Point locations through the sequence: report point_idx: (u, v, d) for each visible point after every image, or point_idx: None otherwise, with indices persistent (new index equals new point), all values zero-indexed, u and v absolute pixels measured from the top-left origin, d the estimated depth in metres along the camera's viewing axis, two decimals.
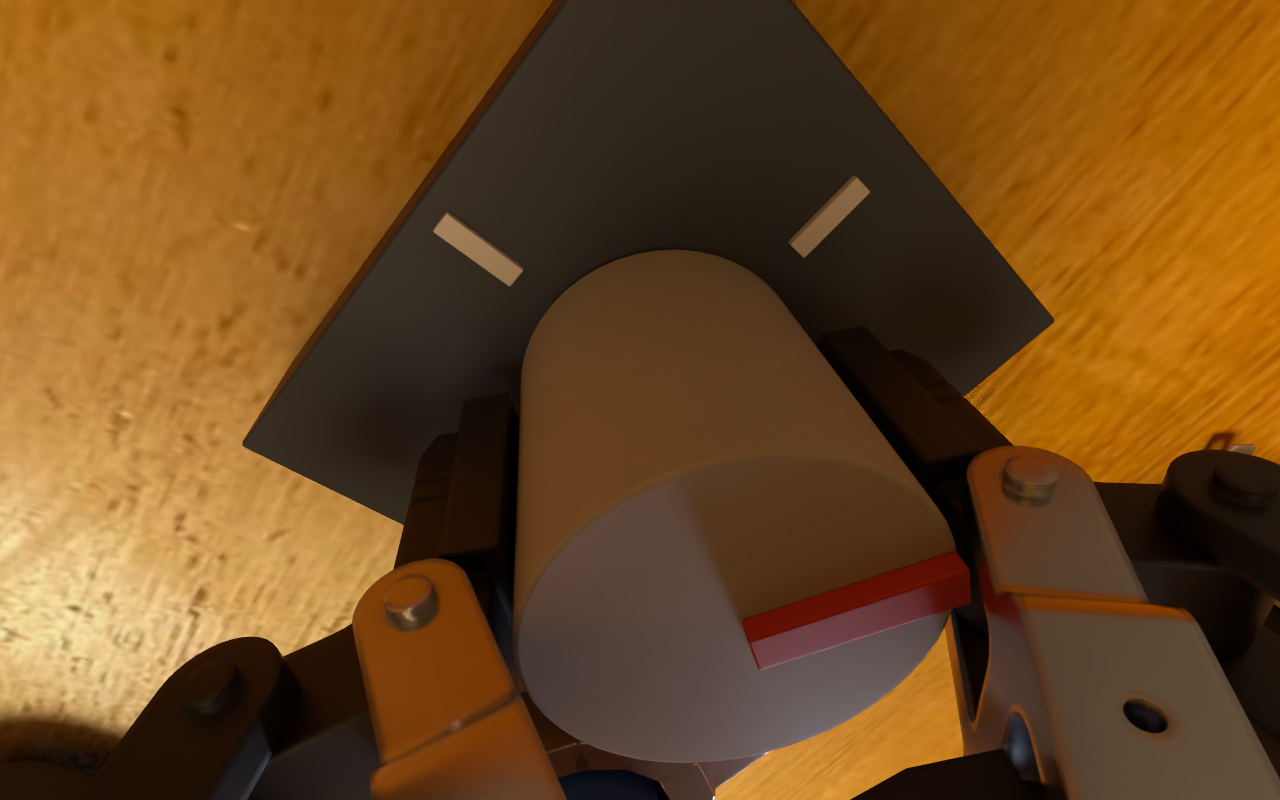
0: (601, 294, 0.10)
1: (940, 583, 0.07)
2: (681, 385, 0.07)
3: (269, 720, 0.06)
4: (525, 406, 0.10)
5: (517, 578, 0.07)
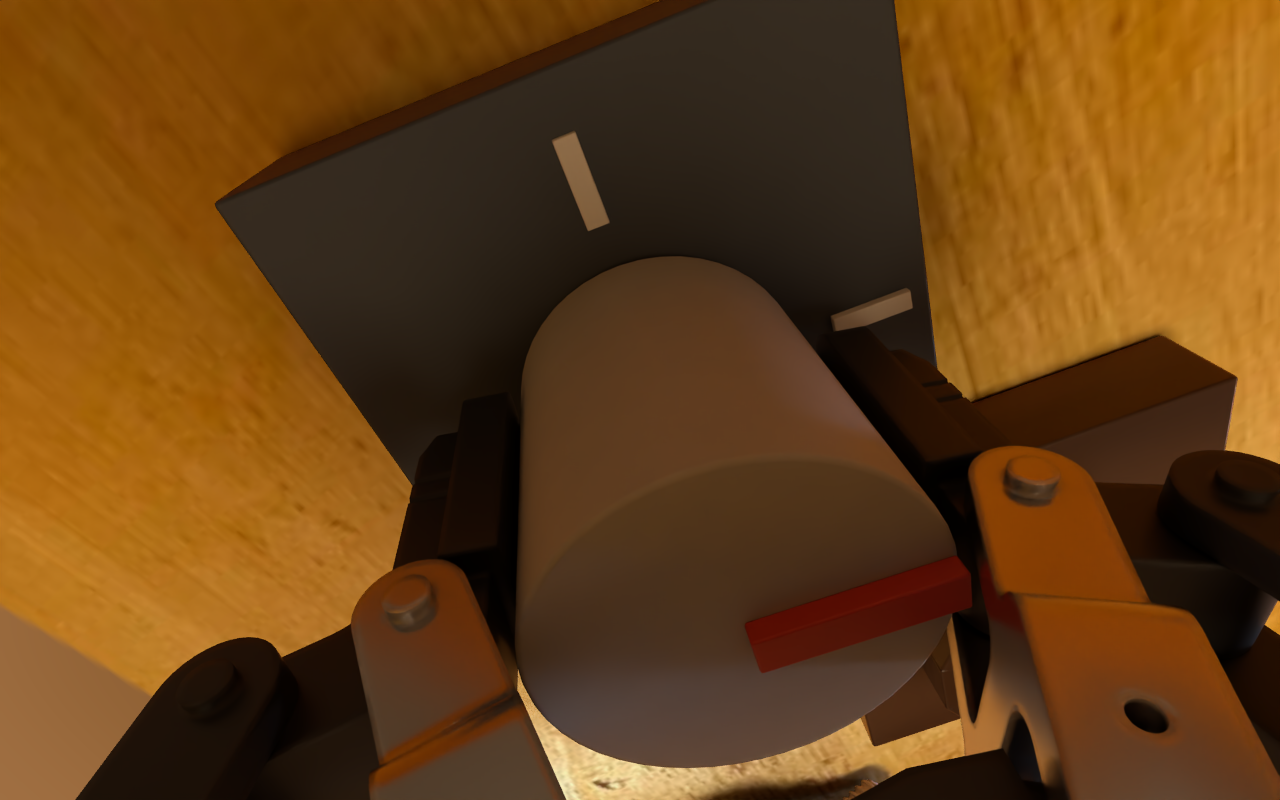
0: (605, 300, 0.10)
1: (942, 587, 0.07)
2: (687, 388, 0.07)
3: (267, 721, 0.06)
4: (527, 410, 0.10)
5: (521, 580, 0.07)
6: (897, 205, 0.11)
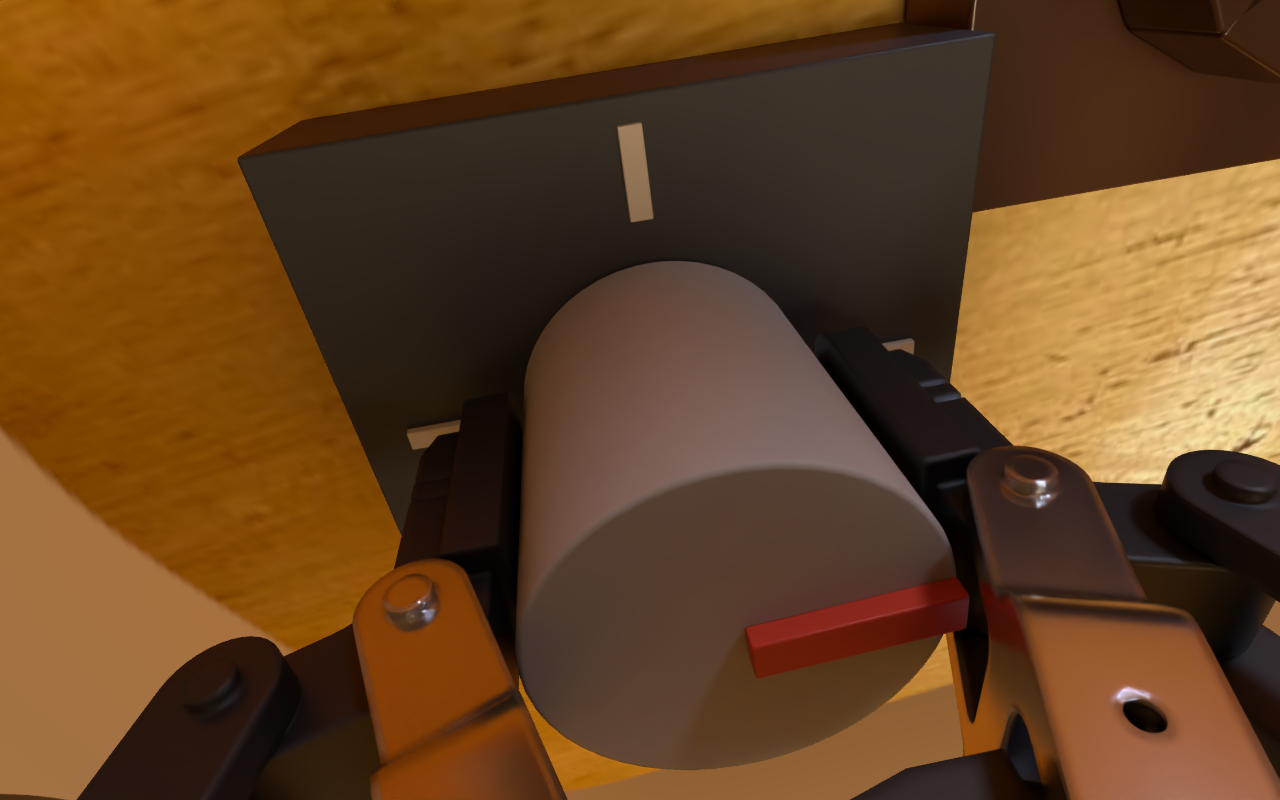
0: (622, 297, 0.10)
1: (940, 607, 0.07)
2: (709, 390, 0.07)
3: (269, 719, 0.06)
4: (535, 399, 0.10)
5: (528, 567, 0.07)
6: (512, 139, 0.10)
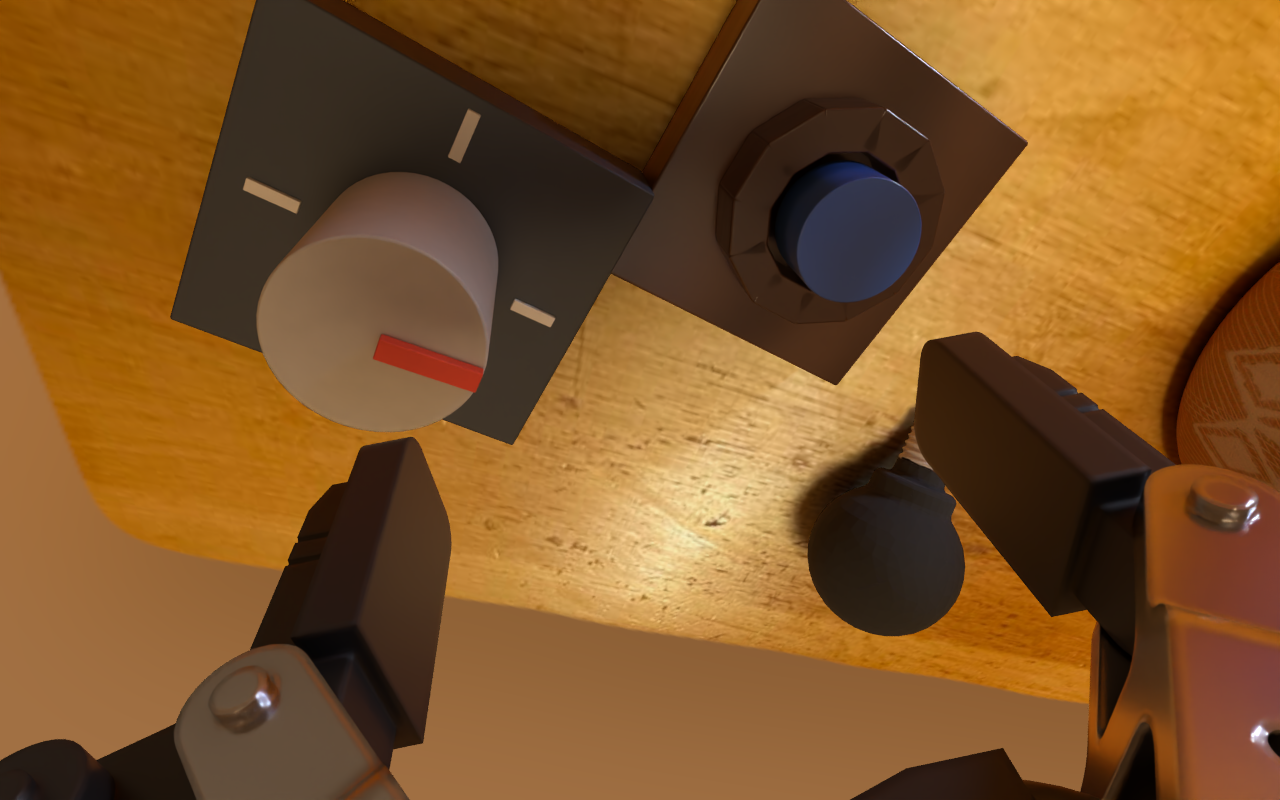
0: (420, 185, 0.18)
1: (469, 373, 0.16)
2: (430, 230, 0.16)
3: None
4: (343, 199, 0.17)
5: (301, 243, 0.14)
6: (413, 76, 0.18)
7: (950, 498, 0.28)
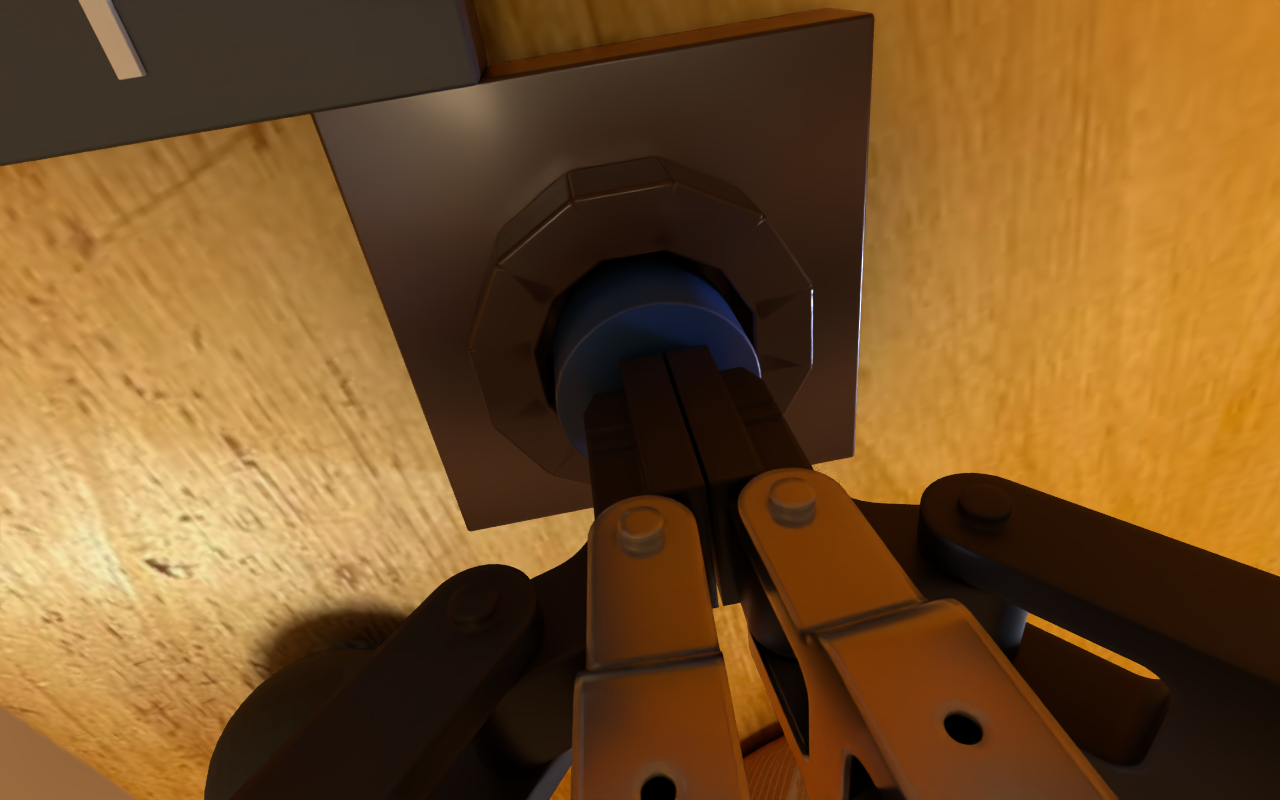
0: None
1: None
2: None
3: (533, 637, 0.07)
4: None
5: None
6: None
7: None
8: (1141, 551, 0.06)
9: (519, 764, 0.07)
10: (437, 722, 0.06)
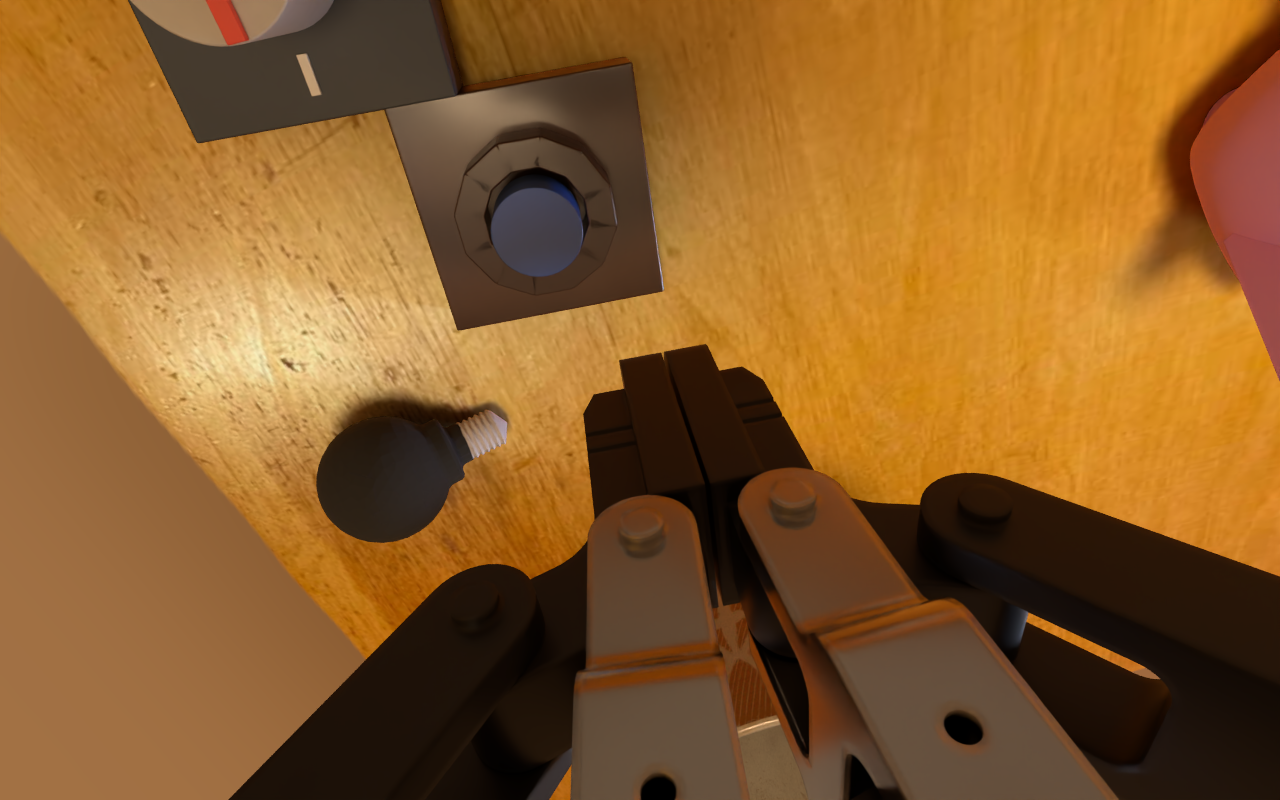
0: None
1: (237, 30, 0.19)
2: None
3: (532, 637, 0.07)
4: None
5: None
6: None
7: (462, 469, 0.35)
8: (1140, 552, 0.06)
9: (519, 764, 0.07)
10: (437, 722, 0.06)
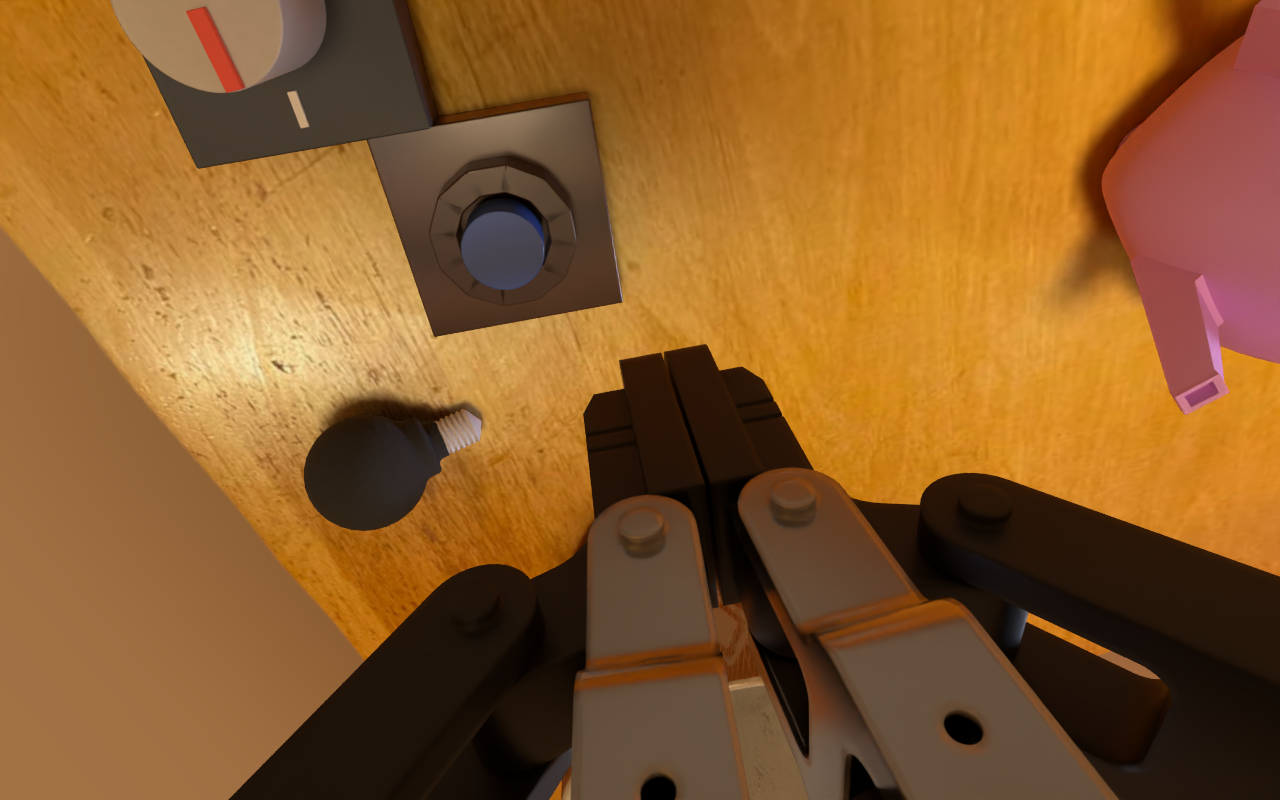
0: None
1: (234, 79, 0.22)
2: None
3: (533, 637, 0.07)
4: None
5: None
6: None
7: (438, 464, 0.38)
8: (1140, 551, 0.06)
9: (519, 764, 0.07)
10: (438, 722, 0.06)
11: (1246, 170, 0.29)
